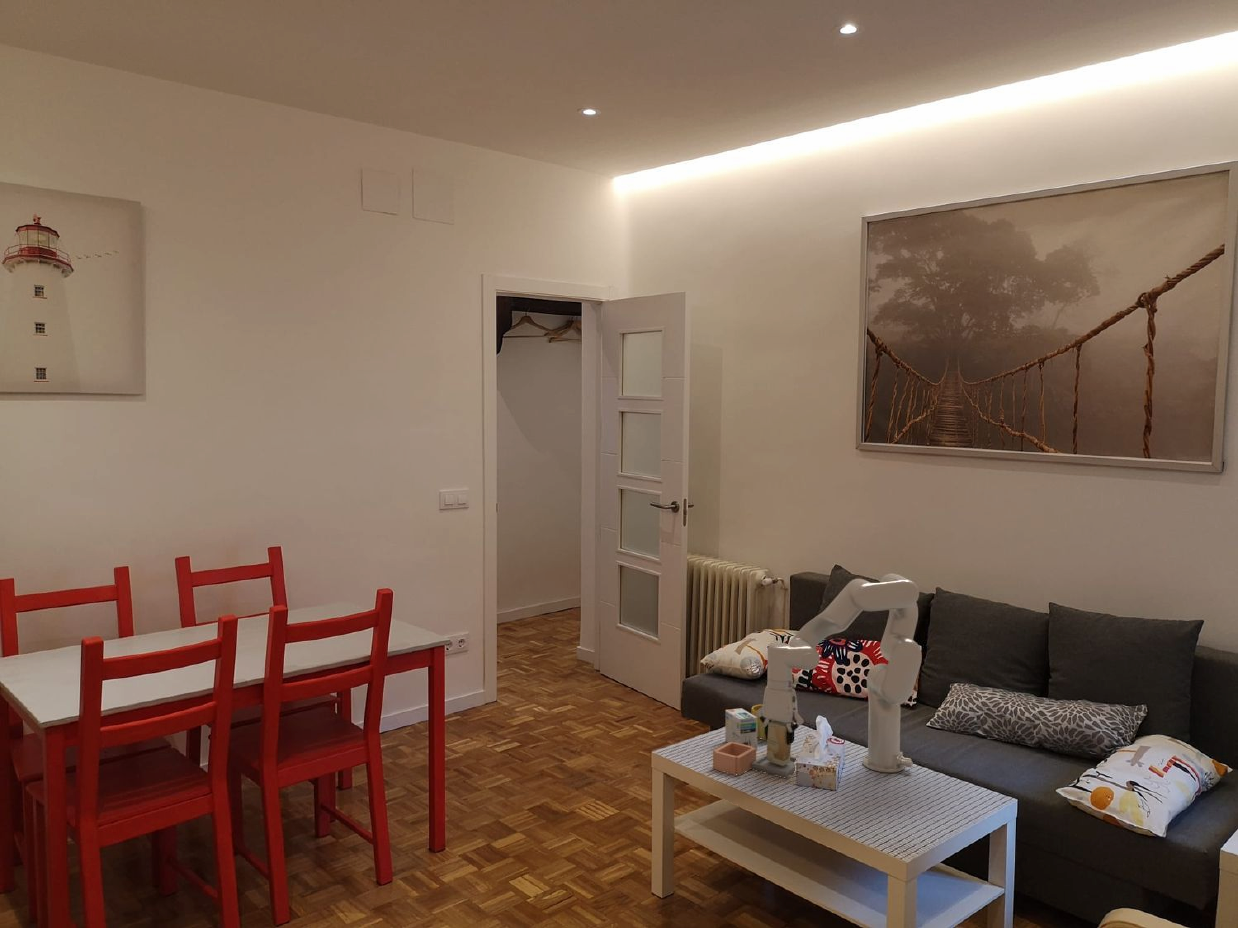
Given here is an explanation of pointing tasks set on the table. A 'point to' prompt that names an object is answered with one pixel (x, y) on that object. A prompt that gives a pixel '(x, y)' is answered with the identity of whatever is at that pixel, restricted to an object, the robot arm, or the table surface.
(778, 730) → the skincare box
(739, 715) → the light bulb box
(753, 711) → the plant pot
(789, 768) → the grey tray
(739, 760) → the terracotta square pot
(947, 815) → the table surface
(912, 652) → the robot arm
